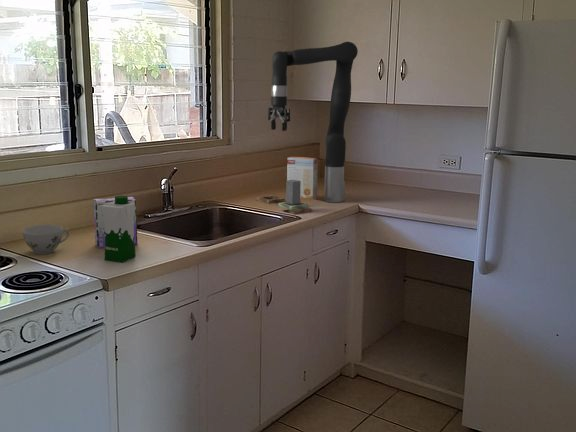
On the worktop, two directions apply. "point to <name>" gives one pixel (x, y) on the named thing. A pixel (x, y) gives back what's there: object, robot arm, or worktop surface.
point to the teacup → (44, 237)
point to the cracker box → (304, 175)
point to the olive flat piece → (281, 203)
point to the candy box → (100, 220)
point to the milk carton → (119, 229)
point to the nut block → (293, 192)
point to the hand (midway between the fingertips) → (278, 130)
